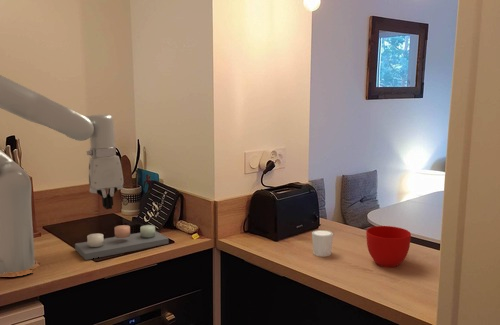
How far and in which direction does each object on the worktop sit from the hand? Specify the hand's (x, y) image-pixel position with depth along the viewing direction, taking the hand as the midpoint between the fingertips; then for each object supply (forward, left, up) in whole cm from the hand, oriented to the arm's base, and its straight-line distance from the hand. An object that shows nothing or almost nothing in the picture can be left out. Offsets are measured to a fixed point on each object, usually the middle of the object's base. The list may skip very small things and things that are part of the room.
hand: (108, 208), depth 150 cm
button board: (+4, 0, -14) cm, 15 cm away
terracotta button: (+4, 0, -10) cm, 11 cm away
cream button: (-5, 0, -12) cm, 12 cm away
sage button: (+13, 0, -12) cm, 18 cm away
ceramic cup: (+67, -60, -14) cm, 91 cm away
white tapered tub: (+55, -43, -14) cm, 72 cm away
